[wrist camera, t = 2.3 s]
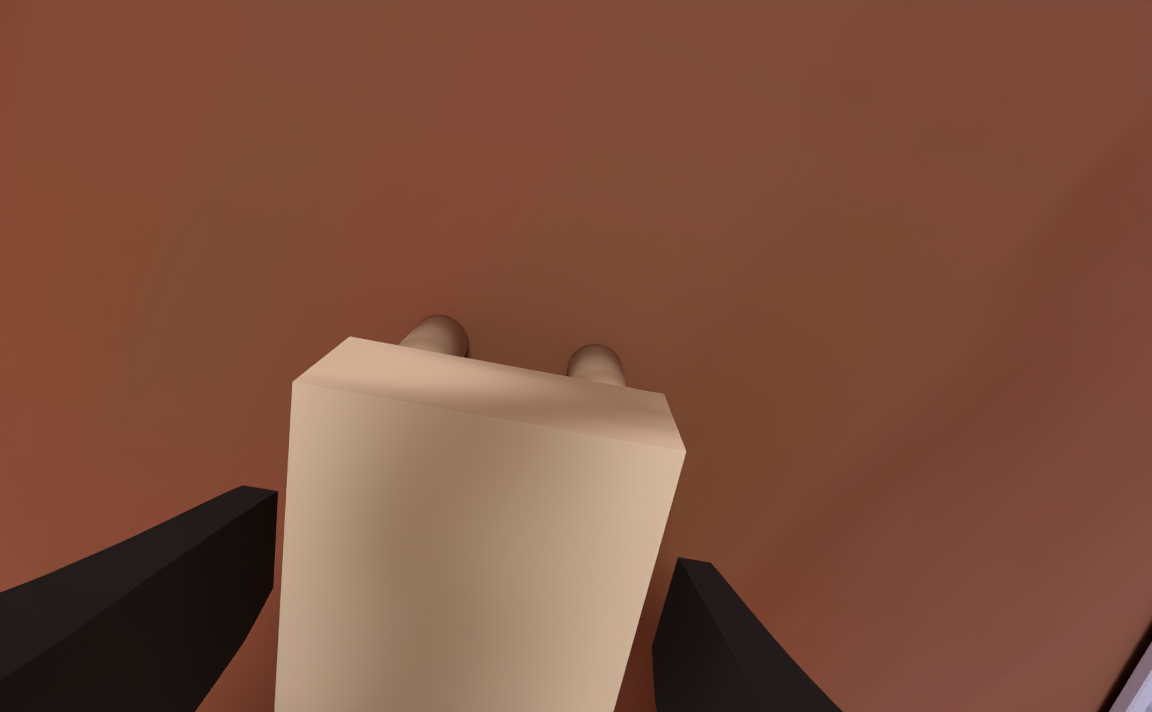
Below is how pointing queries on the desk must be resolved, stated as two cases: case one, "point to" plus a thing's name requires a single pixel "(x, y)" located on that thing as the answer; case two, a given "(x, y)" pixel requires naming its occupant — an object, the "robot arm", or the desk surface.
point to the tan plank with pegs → (467, 529)
